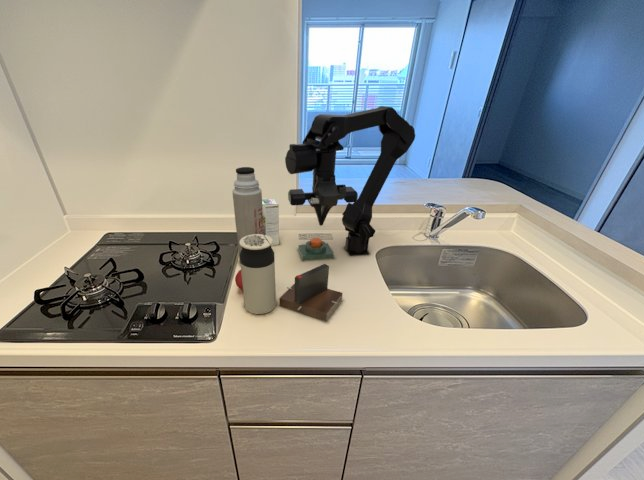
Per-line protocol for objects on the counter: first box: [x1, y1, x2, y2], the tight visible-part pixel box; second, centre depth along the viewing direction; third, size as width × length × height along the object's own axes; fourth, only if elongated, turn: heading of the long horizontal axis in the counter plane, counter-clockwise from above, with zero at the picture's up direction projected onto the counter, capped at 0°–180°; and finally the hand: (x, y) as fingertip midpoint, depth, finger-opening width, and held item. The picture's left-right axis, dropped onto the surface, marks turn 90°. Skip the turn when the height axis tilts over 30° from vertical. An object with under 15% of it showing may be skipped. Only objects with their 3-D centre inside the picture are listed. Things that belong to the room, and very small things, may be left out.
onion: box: [234, 269, 243, 291], centre depth 86 cm, size 6×6×8 cm
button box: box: [297, 240, 335, 261], centre depth 105 cm, size 10×8×4 cm
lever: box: [294, 263, 330, 304], centre depth 80 cm, size 10×2×7 cm, turn 130°
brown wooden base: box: [278, 283, 343, 322], centre depth 83 cm, size 14×14×3 cm
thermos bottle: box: [231, 166, 264, 266], centre depth 93 cm, size 8×8×28 cm
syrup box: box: [262, 198, 280, 246], centre depth 109 cm, size 6×6×14 cm
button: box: [309, 237, 323, 247], centre depth 104 cm, size 4×4×2 cm
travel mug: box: [239, 234, 277, 315], centre depth 77 cm, size 8×8×18 cm
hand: (320, 225), depth 95 cm, fingers closed
